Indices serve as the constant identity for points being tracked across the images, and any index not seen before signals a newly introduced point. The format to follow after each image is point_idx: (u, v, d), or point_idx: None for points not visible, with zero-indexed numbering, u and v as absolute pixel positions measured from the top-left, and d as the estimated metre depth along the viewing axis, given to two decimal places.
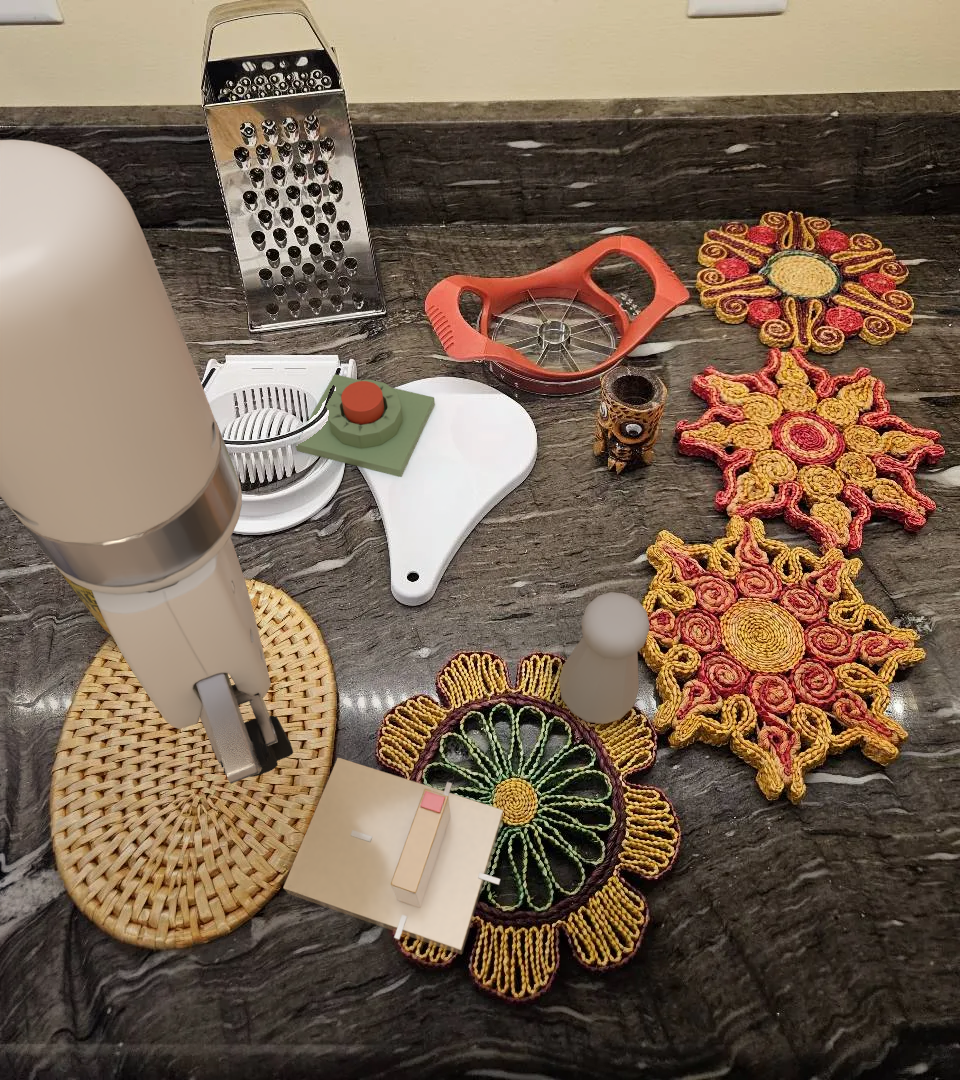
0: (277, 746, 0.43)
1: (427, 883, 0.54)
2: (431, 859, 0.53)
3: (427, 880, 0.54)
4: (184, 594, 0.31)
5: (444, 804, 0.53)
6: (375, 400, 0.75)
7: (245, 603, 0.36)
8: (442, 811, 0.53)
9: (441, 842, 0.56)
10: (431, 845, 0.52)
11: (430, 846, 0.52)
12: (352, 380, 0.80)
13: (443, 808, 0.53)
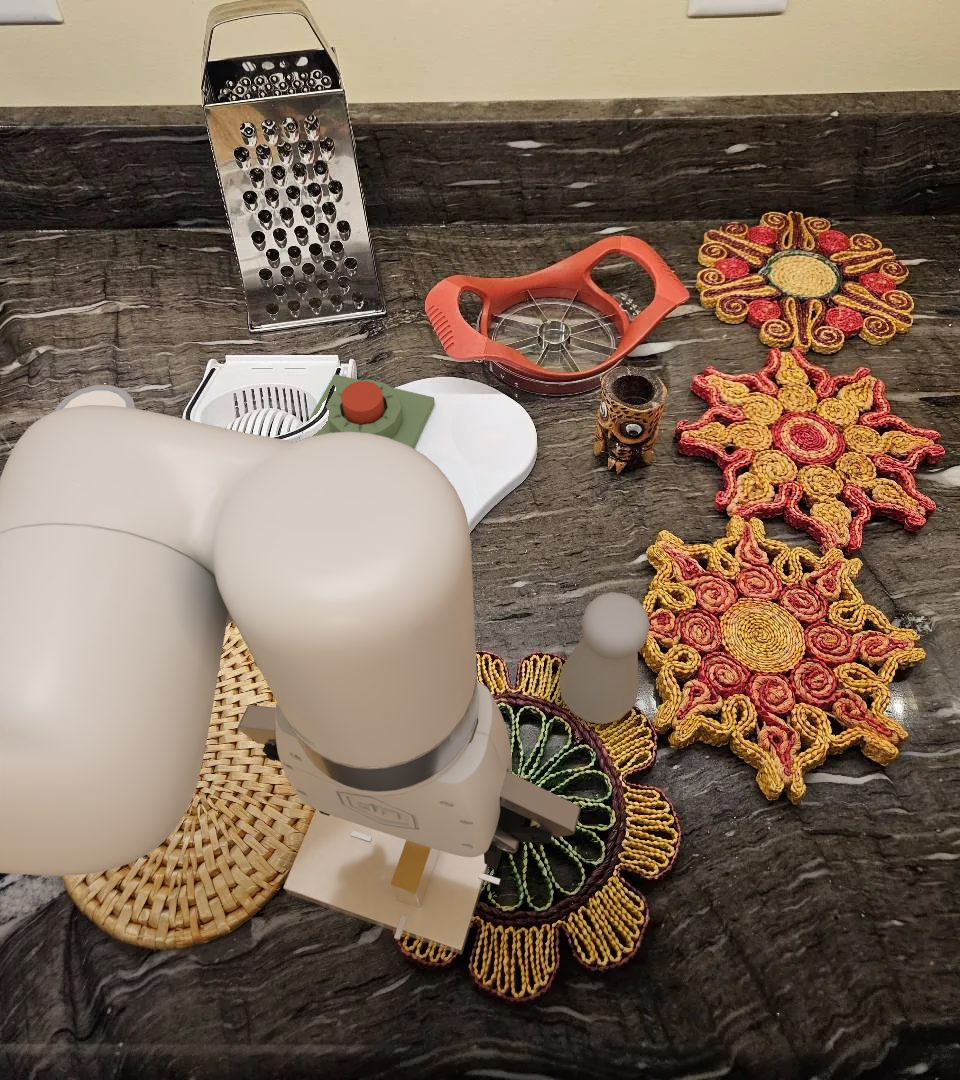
0: None
1: (427, 883, 0.54)
2: (431, 859, 0.53)
3: (427, 880, 0.54)
4: (491, 720, 0.35)
5: None
6: (375, 400, 0.75)
7: None
8: None
9: None
10: None
11: None
12: (352, 380, 0.80)
13: None
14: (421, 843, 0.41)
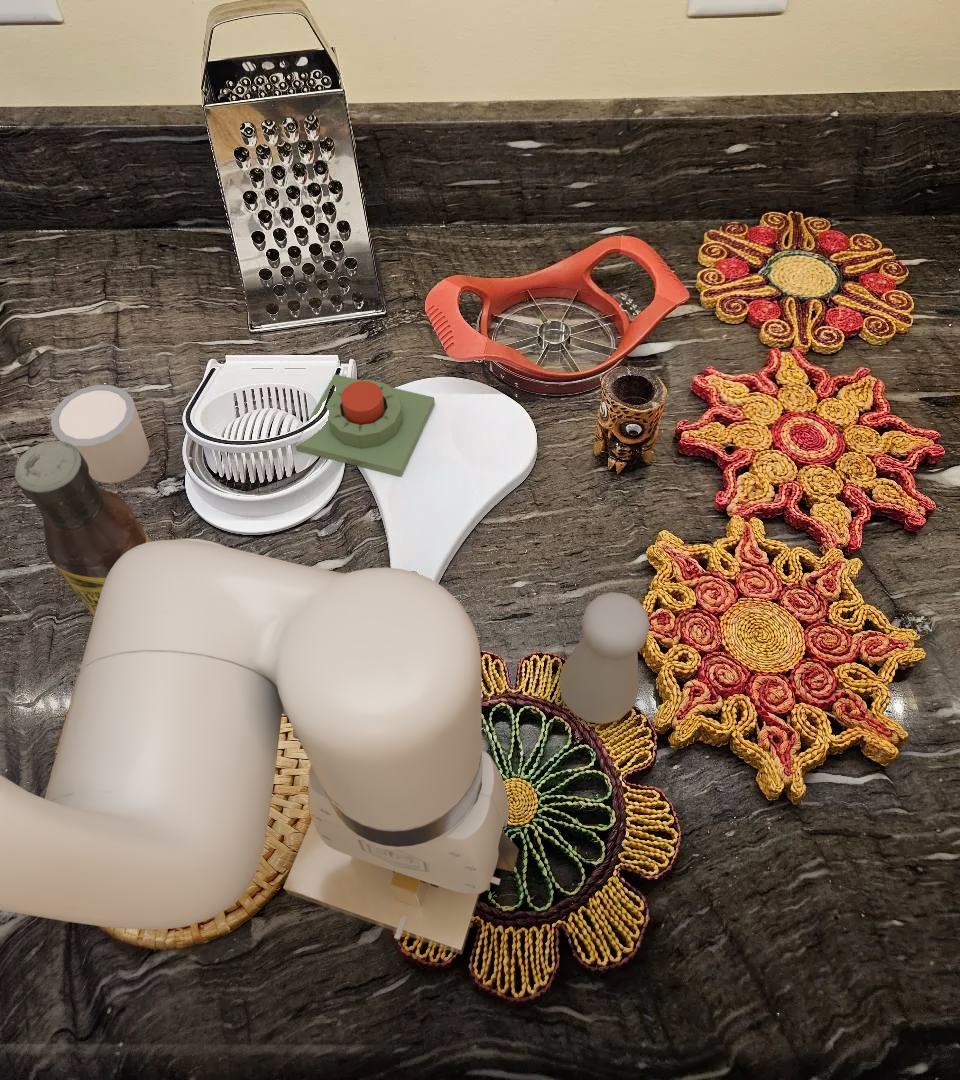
0: None
1: (427, 883, 0.54)
2: None
3: None
4: (492, 784, 0.41)
5: None
6: (375, 400, 0.75)
7: None
8: None
9: None
10: None
11: None
12: (352, 380, 0.80)
13: None
14: (429, 882, 0.47)
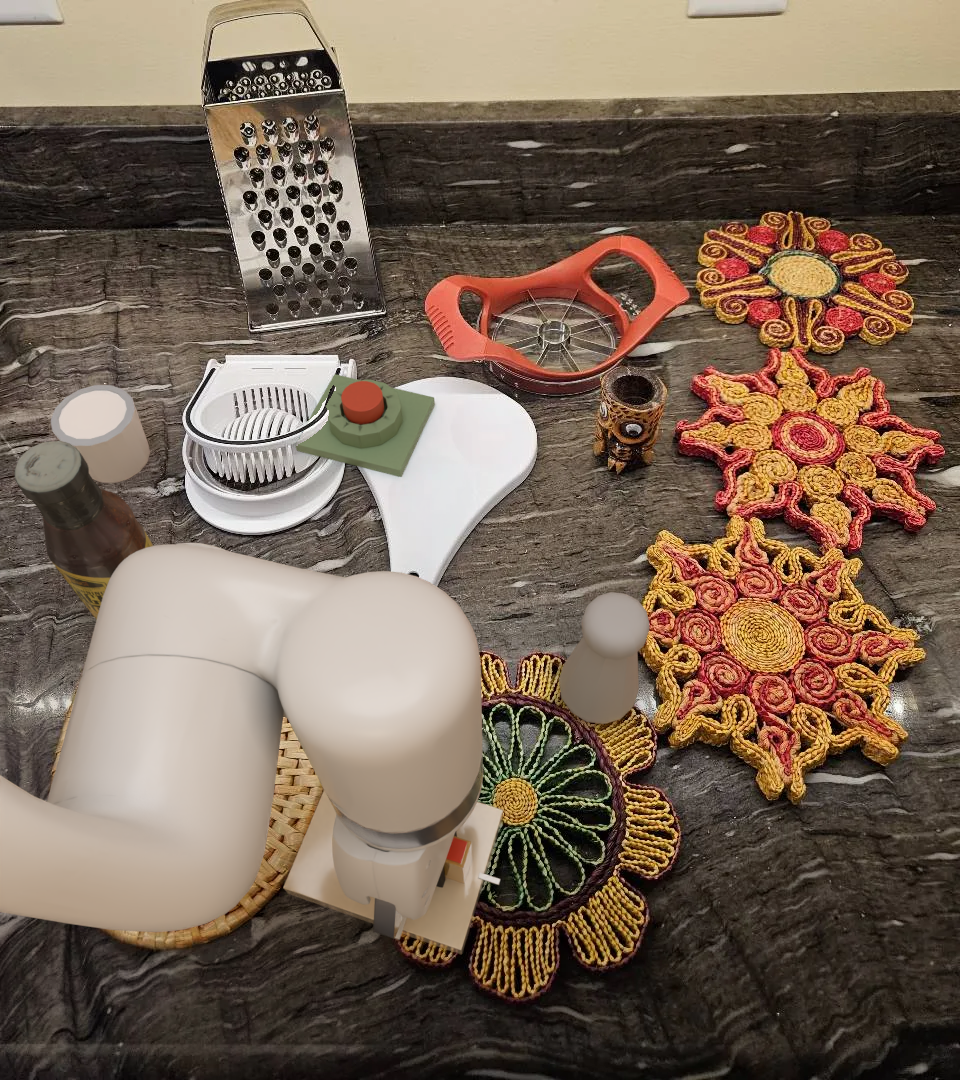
0: None
1: None
2: None
3: None
4: (387, 864, 0.39)
5: (454, 863, 0.51)
6: (375, 400, 0.75)
7: (435, 867, 0.43)
8: (447, 861, 0.51)
9: None
10: None
11: None
12: (352, 380, 0.80)
13: (450, 862, 0.51)
14: None
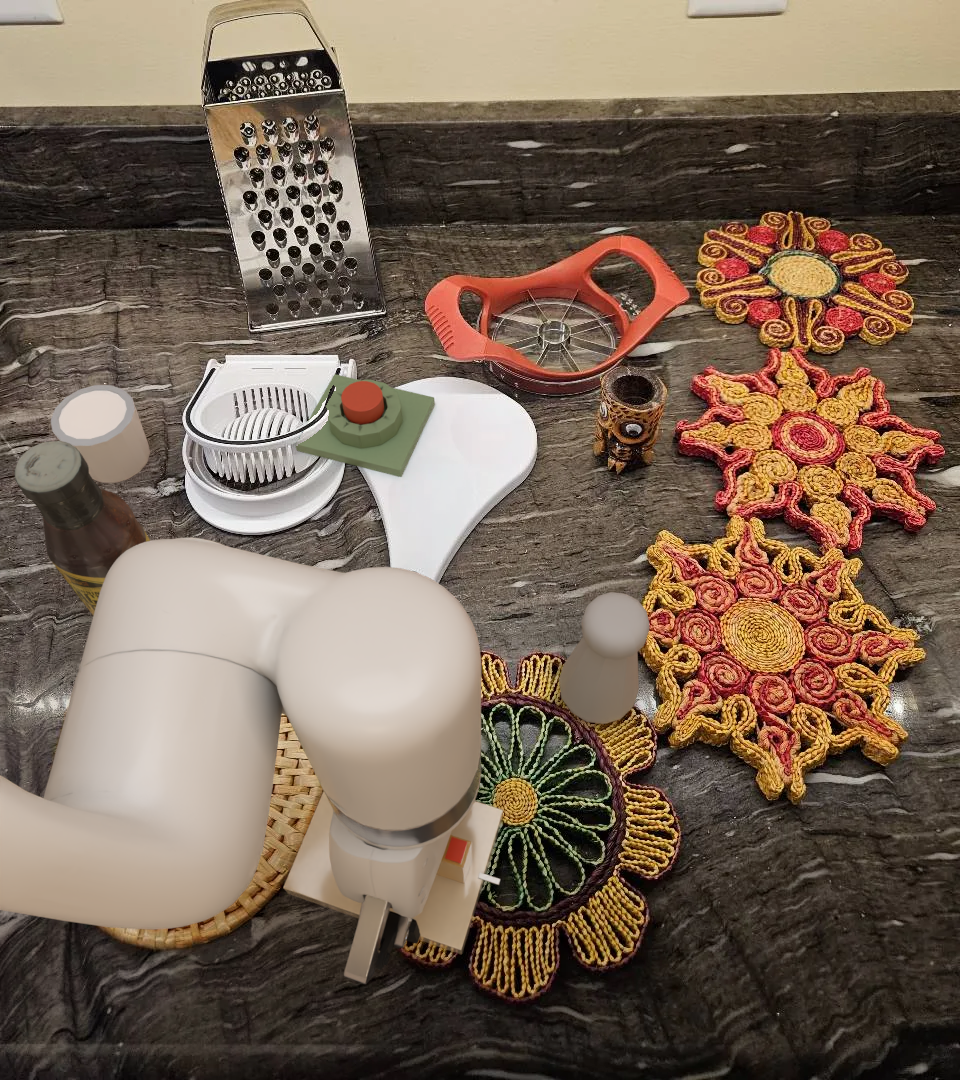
0: (407, 936, 0.50)
1: None
2: None
3: None
4: (384, 862, 0.39)
5: (454, 863, 0.51)
6: (375, 400, 0.75)
7: (432, 865, 0.43)
8: (447, 861, 0.51)
9: None
10: None
11: None
12: (352, 380, 0.80)
13: (450, 862, 0.51)
14: None
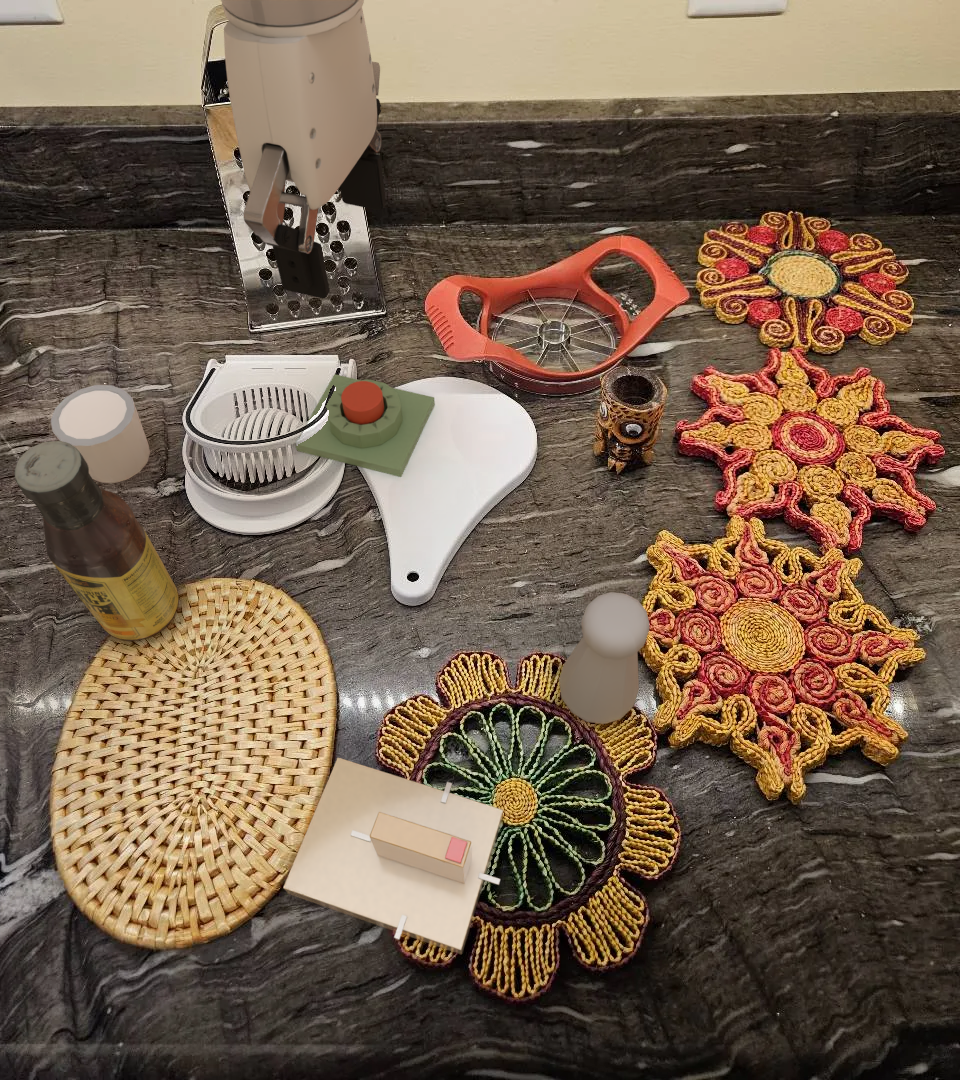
0: (315, 276, 0.55)
1: (396, 859, 0.55)
2: (410, 857, 0.53)
3: (397, 858, 0.55)
4: (270, 45, 0.44)
5: (454, 863, 0.51)
6: (375, 400, 0.75)
7: (323, 112, 0.48)
8: (447, 861, 0.51)
9: (436, 873, 0.55)
10: (414, 851, 0.52)
11: (412, 850, 0.52)
12: (352, 380, 0.80)
13: (450, 862, 0.51)
14: None
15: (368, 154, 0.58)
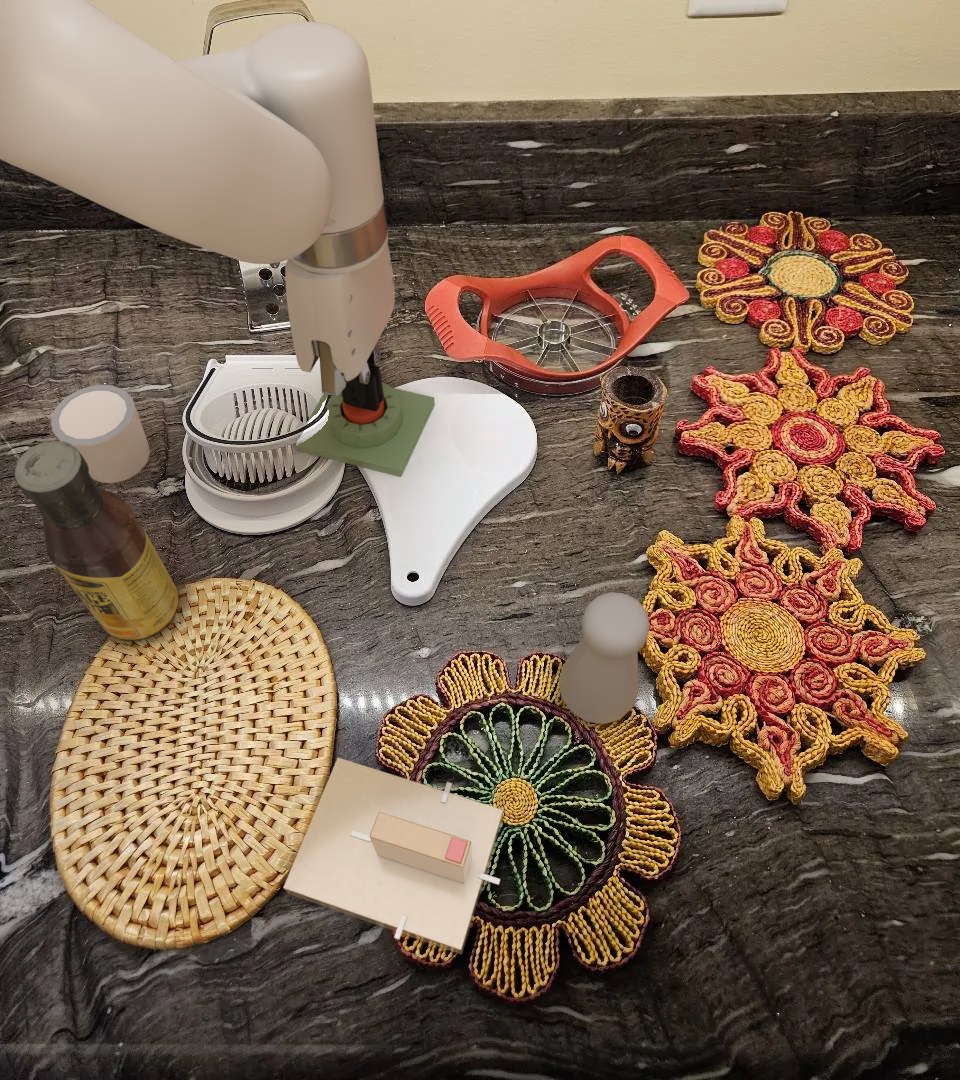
0: (369, 397, 0.74)
1: (396, 859, 0.55)
2: (410, 857, 0.53)
3: (397, 858, 0.55)
4: (320, 280, 0.59)
5: (454, 863, 0.51)
6: None
7: (357, 317, 0.63)
8: (447, 861, 0.51)
9: (436, 873, 0.55)
10: (414, 851, 0.52)
11: (412, 850, 0.52)
12: None
13: (450, 862, 0.51)
14: None
15: (370, 365, 0.73)
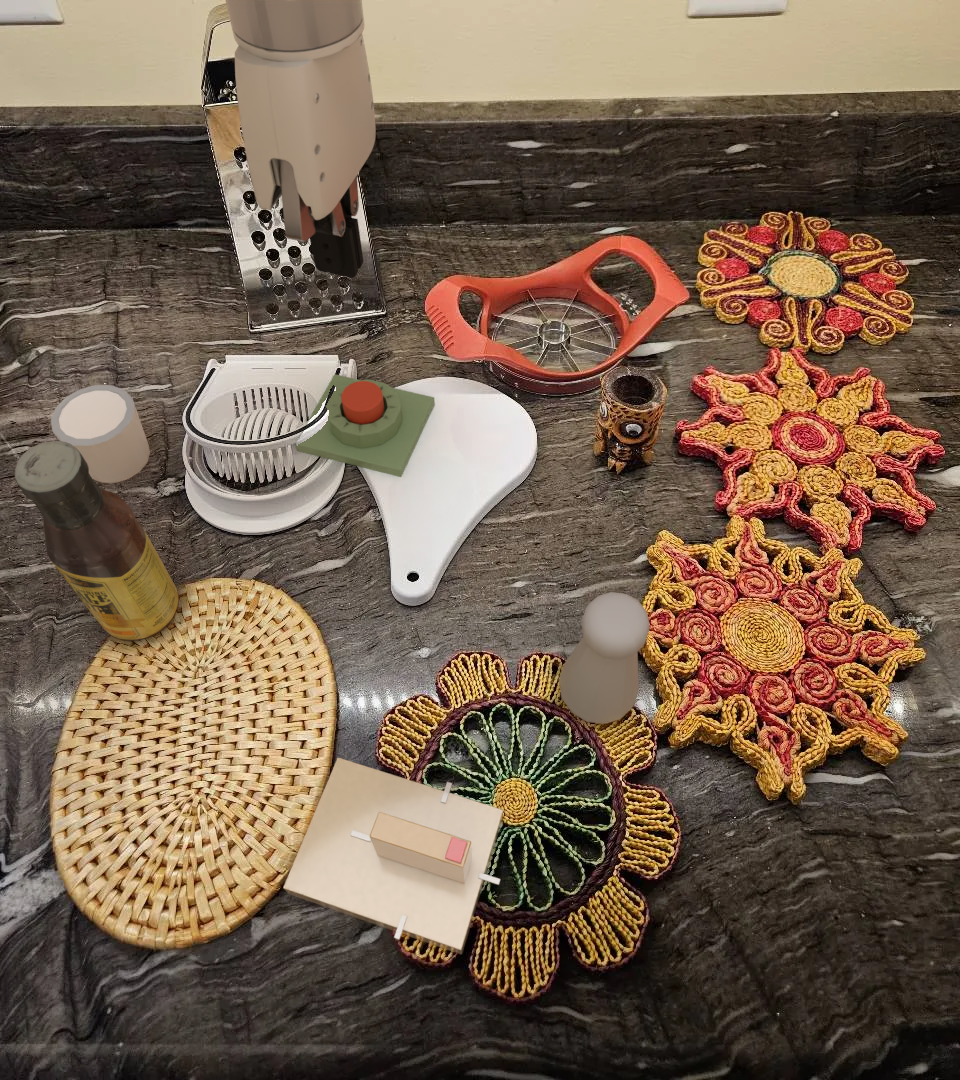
0: (346, 258, 0.62)
1: (396, 859, 0.55)
2: (410, 857, 0.53)
3: (397, 858, 0.55)
4: (278, 68, 0.47)
5: (454, 863, 0.51)
6: (375, 400, 0.75)
7: (326, 129, 0.51)
8: (447, 861, 0.51)
9: (436, 873, 0.55)
10: (414, 851, 0.52)
11: (412, 850, 0.52)
12: (352, 380, 0.80)
13: (450, 862, 0.51)
14: None
15: (346, 217, 0.61)
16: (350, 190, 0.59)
